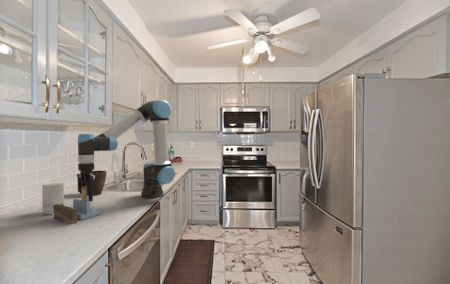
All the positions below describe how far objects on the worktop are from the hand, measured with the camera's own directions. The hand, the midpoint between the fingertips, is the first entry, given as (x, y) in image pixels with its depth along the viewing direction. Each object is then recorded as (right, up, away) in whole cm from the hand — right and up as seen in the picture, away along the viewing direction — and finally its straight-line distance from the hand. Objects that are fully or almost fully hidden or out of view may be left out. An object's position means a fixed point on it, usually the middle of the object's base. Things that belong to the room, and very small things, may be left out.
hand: (86, 206), depth 136 cm
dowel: (0, 0, 0) cm, 0 cm away
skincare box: (-20, -4, +4) cm, 21 cm away
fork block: (-1, -4, -1) cm, 4 cm away
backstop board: (-5, -5, -10) cm, 12 cm away
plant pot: (-19, -3, +46) cm, 50 cm away
